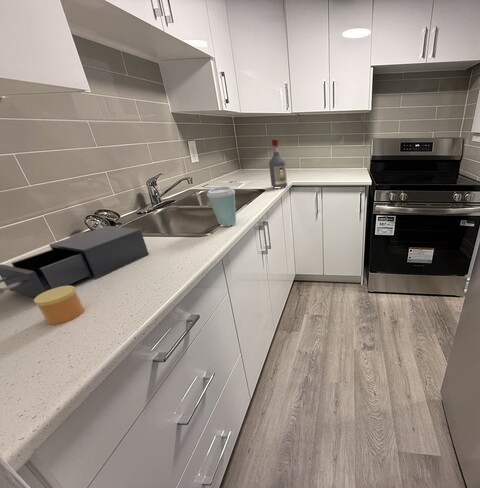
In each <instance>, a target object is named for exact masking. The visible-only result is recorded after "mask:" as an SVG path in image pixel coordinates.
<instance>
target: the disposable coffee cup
mask: <svg viewBox="0 0 480 488" xmlns="http://www.w3.org/2000/svg"><path fill="white" fill-rule="evenodd" d="M235 193H236V191H235V189H234V188H233V186H228V185H227V186H225V185H224V186H217V187H214V188H211V189H209V190H208V191H207V193H206V197H207V199H208V201H209V204H210V206H211V208H212V211H213V213H214V216H215V218H216V220H217V223H218V225H219V224H220V225H223V226H229V227H232V226H234V225H236V222H237V213H236V196H235V195H236V194H235ZM220 225H219V226H220ZM231 225H232V226H231Z"/></svg>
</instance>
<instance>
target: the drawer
mask: <svg viewBox="0 0 480 488" xmlns="http://www.w3.org/2000/svg"><path fill="white" fill-rule="evenodd" d="M92 274H93V273H92V270H91V268H90V266H89V264H88V261H87V259H86V257H85V255H84V252H78V251H72V250H66V249H60V248H54V249H51V248H50V249H48V250H45V251H42V252H40V253H36V254H33V255H31V256H28V257H27V256H26V257H24V258H21V259H18V260H15V261H12V262H11V265H7V264H0V284H1V283H4V284H5V286H4V287H0V296H1V295H3V294H4V293H5V292H6V291H10V292H13V293H18V294H22V295H25V296H28V297H32V298H36V297H37V296H38V295H40V294H41V293H43V292H46V291H48V290H51V289H54V288H57V287H61V286H70V285H72V284H74V283H76V282H78V281H80V280H82V279H83V280H84V279H85V278H88V277H87V276H89V275H92Z"/></svg>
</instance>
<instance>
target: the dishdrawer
mask: <svg viewBox="0 0 480 488" xmlns="http://www.w3.org/2000/svg"><path fill="white" fill-rule="evenodd" d="M144 238H145V237H144V236H143V233H142V230H141V229H138V228H131V227H121V226H114V225H113V226H112V225H106V226H102V227H100V228H97V229H93V230H91V231H87V232H83V233H81V234H78V235H75V236H72V237H68V238H64V239H62V240H58V241H55V242H52V243H50V244H48V245H49V247H50V250H51V249H54V248H60V249H66V250H72V251H78V252H84V255H85V257H86V259H87V261H88V264H89V266H90V268H91V270H92V273H93V274H92V275H89V276H87V277H86V278H91V279H95V280H97V279H100V278H102V277H104V276H107V275H108V274H111V273H112V272H115V271H117V270H119V269H121V268H123V267H125V266H127V265H131V264H132V263H134V262H137V261H138V260H141V259H142V258H145V257H146V256H148V255H150V253H149V250H148V247H147V245H146V241H145V239H144Z"/></svg>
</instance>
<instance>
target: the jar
mask: <svg viewBox="0 0 480 488" xmlns="http://www.w3.org/2000/svg"><path fill="white" fill-rule="evenodd" d="M45 291H46V292H43V293H41V294H40V295H38V296H37V297H34V299H33V302H34V304H35V306H37V308H38V310H39V311H40V313H41V314H42V316H43V318H44V320H45V321H46V323H47V324H48V325H51V326H55V325H61V324H64V323H67V322H70V321H72V320H74V319H76V318H78V317H80V316H81V315H82V314H83V313H84V311H85V307H84V305H83V303H82V301H81V299H80V297H79V295H78V293H77V289H76V288H75V286H73V285H67V286H61V287H57V288H54V289H51V290H45Z"/></svg>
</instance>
